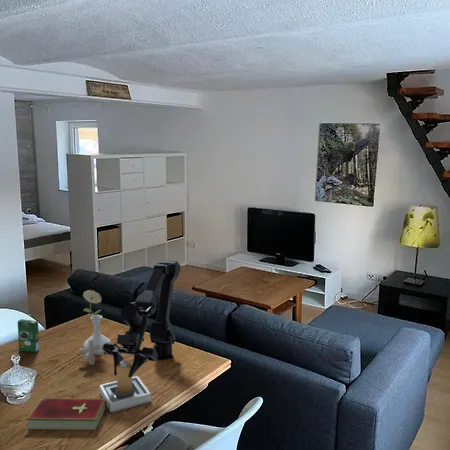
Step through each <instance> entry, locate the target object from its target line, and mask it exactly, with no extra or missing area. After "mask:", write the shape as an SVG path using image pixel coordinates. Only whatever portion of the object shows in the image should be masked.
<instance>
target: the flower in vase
mask: <svg viewBox="0 0 450 450" xmlns="http://www.w3.org/2000/svg"><path fill="white" fill-rule="evenodd" d="M82 297H83V298H84V299H85V301H86V302H89V308H87V307H85V308H84V309H83V310H82V312H87V313H92V316H90V317H89V318H90V320H91V321H92V324H93V333H92V335H91V336H90V337H89V338H87V339H86V340H85V341H84V342H83V347H82V348H84V349H89V339H93V342H94V346H95V345H97V344H98V345H99V346H100V347H99V349H98V350H103V349H102V348H103V345H104V344H105V343H106V342H111V343H112V341H111V339H109V338H108V337H106V336H105V335H103V334H102V333H101V331H100V326H101V325H100V324H101V320H102V318H103V315H100V314H99V313H101V311H102V309H98V310H96V311H95V312H93V311H92V304H99V303H102V300H103V298H102V296H101V294H100V293H98V292H96V291H95V290H92V289H89V290H88V289H87V290H85V291H84V292H83V293H82Z"/></svg>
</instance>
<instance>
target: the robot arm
mask: <svg viewBox="0 0 450 450" xmlns="http://www.w3.org/2000/svg"><path fill="white" fill-rule="evenodd" d="M180 272H181V264H179V261H176V260H168V259H167V260H164V259H163V260H161V261H160V262H157V263H155V264H154V266H153V271H152V273H151V276H150V277H149V279H148V281H147V285H146V287H145V289H144V291H143V292H141V293H140V294H138V296H137V298H136V299H135V301H134V302H129V303H128V305H125V307H123V308H122V309H121V311H120V318H121V319H122V320H123V321H124V322H125V323H126V325H127V326H129V328H128V330H126V331H125V334H123V333H122V334H120V333H119V334H117V339H116V343H115V342H112V341H111V342H106V343H105V344H104V345H103V348H102V349H103V350H104V353H106V354H107V355H109V356H113V371H114V373H113V375H114V376H117V370H116V367H117V365H119V364H120V362H121V361H124V357H123V356H122V355H123V354H127V355H132V356H133V361H132V364H131V365H132V367H131V370H130V373H129V378H131V377H134V374H135V373H136V372H138V370H139V369H140V368H141V367H142V366H143V365H144V364H146V363H148V361H150V362H157V361H165V360H168V359H173V358H174V357H175V356H174V355H173V345H174V344H175V343H176V334H175V333H174V332H173V331H172V330H173V326H172V325H173V324H172V323H171V320H170V314H171V313H170V312H171V305H172V299H173V298H172V297H173V290H174V289H173V288H174V283H175V282H176V281H177V279H178V278H179V275H180ZM159 291H160V292H159ZM158 293H159V299H158V300H159V301H158V307H157V300H156V299H157V296H158ZM156 310H157V316H156V318H155V320H154V321H152V322H151V324H150V321H149V319H148V317H151V316H153V315H154V314H155V313H156ZM147 326H150V330H149V338H150V343H151V344H153V343H154V346H153V348H152V347H147V346H146V347H145V346H143V347H142V349H141V346H142V343H143V342H145V338H144V336H145V333H146V330H147ZM119 345H120V346H119Z"/></svg>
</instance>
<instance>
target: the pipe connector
mask: <svg viewBox="0 0 450 450" xmlns="http://www.w3.org/2000/svg"><path fill="white" fill-rule="evenodd" d="M88 339H89V338H88ZM99 347H100V346H99V345H98V344H97V345H95V346H94V342H93V339H89V349H85V348H84V347H82V348H81V347H80V348H78V353H79V354H84V355H83V356H82V358H83V360H85V361H86V360H88V359H89V365H90V366H93V365H95V356H104V355H105V351H104V350H98V349H99Z"/></svg>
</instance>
